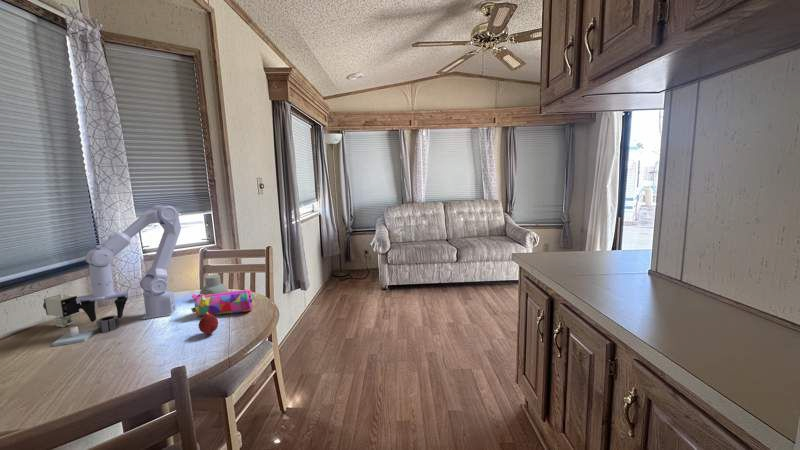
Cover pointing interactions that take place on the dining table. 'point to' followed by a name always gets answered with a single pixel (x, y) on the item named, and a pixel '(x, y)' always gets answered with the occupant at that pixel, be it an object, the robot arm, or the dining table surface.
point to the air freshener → (213, 285)
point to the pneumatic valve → (62, 308)
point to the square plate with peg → (74, 336)
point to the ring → (108, 323)
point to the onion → (208, 323)
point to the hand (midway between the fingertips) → (107, 318)
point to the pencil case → (223, 302)
